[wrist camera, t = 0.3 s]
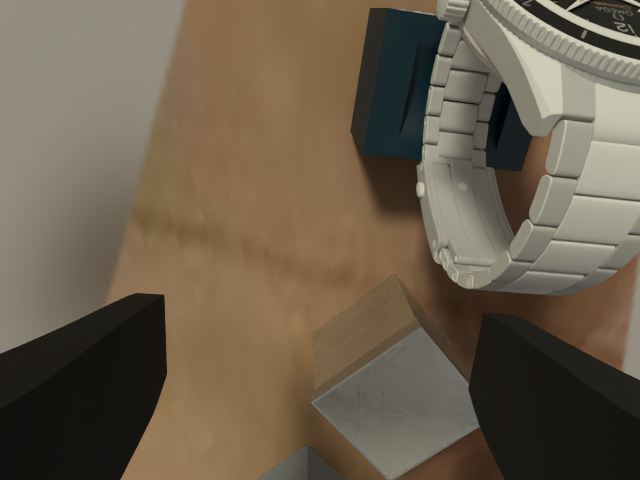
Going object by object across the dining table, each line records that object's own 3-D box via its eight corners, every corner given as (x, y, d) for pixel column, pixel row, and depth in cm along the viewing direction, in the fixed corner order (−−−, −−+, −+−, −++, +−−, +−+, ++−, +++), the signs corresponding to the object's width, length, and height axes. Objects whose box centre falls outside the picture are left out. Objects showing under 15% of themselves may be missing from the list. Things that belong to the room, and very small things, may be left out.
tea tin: (455, 343, 22) (495, 416, 17) (372, 398, 23) (389, 482, 18) (395, 269, 21) (421, 326, 16) (309, 330, 22) (310, 402, 17)
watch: (537, -32, 16) (932, -93, 6) (473, 188, 20) (665, 370, 10) (377, -59, 16) (542, -174, 6) (341, 174, 19) (403, 355, 9)
